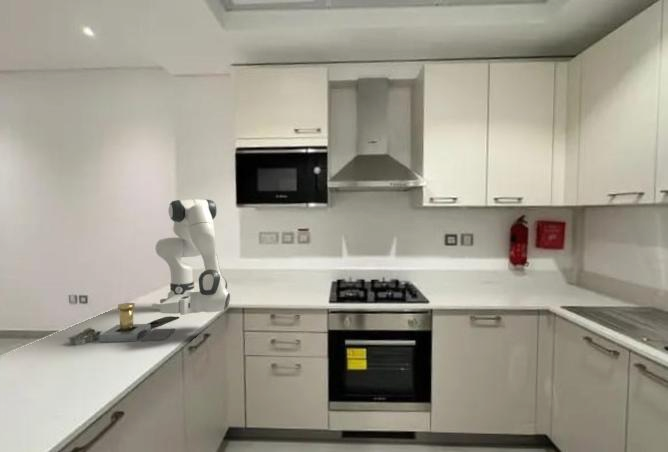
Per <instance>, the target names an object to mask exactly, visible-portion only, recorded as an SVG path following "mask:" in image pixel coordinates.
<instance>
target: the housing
mask: <svg viewBox="0 0 668 452" xmlns="http://www.w3.org/2000/svg"><path fill="white" fill-rule="evenodd" d="M133 329H134V330H133V331H126V332H120V324H116V325H114V326H113V327H111V328H110V329H108V330H107V331H104V332H102V333H100V334H101V335H100V339H99V340H100V343H122V342H123V343H124V342H126V343H127V342H138V341H139V340H141V339H142V338H144V337H145V336H146V335H147V334H149V333H150V332H151V331H152V328H151V324H147V323H135V324H134V323H133Z"/></svg>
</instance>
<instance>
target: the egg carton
mask: <svg viewBox="0 0 668 452" xmlns="http://www.w3.org/2000/svg"><path fill="white" fill-rule="evenodd" d="M101 334H102V331H101V330H100V331H99V330H97V331H96V330H95V328H92V327H88V328H85V329H84V330H83V331H82V332H79V333H76V334H74V335H72V336H70V337H67V339H68V341H69V345H75V346H80V345H81V346H83V345H85V344H87V343H89V342H90V343H92V342H94V340H100V335H101Z"/></svg>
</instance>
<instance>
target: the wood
mask: <svg viewBox="0 0 668 452" xmlns="http://www.w3.org/2000/svg"><path fill="white" fill-rule="evenodd" d="M178 319H180V316H172V315H170V316H164V317H160V318H158V319H155V320H153V321H150V322H148V323H146V324H151V329H152V328H154V327H161V326H163V325H166V324H167V323H170V322H173V321H175V320H178Z"/></svg>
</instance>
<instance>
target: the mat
mask: <svg viewBox="0 0 668 452" xmlns="http://www.w3.org/2000/svg"><path fill="white" fill-rule="evenodd" d="M174 331H176V328H175V327H174V328H172V327H171V328H154V329H151V331H149V332H148V333H147V334H146V335H144V336H143V337H142V338H141V339H140V342H152V341H155V342H156V341H165V340H167V338H168V337H169V336H170V335H171V334H173V333H174Z"/></svg>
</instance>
